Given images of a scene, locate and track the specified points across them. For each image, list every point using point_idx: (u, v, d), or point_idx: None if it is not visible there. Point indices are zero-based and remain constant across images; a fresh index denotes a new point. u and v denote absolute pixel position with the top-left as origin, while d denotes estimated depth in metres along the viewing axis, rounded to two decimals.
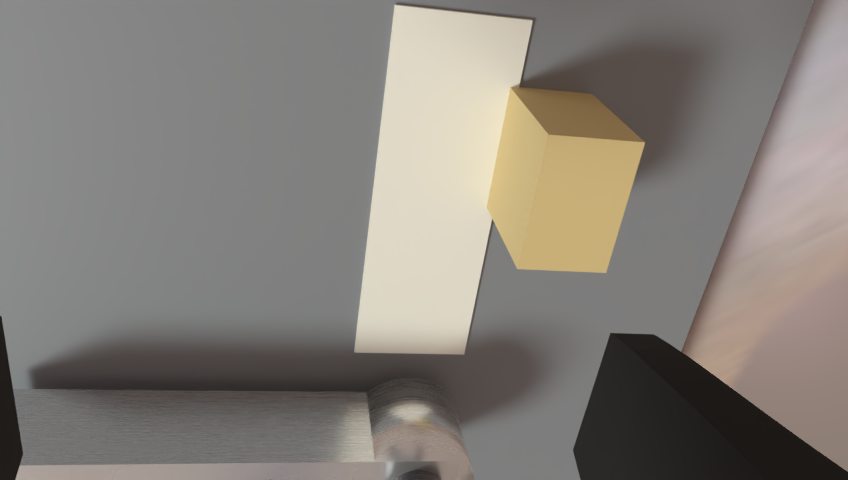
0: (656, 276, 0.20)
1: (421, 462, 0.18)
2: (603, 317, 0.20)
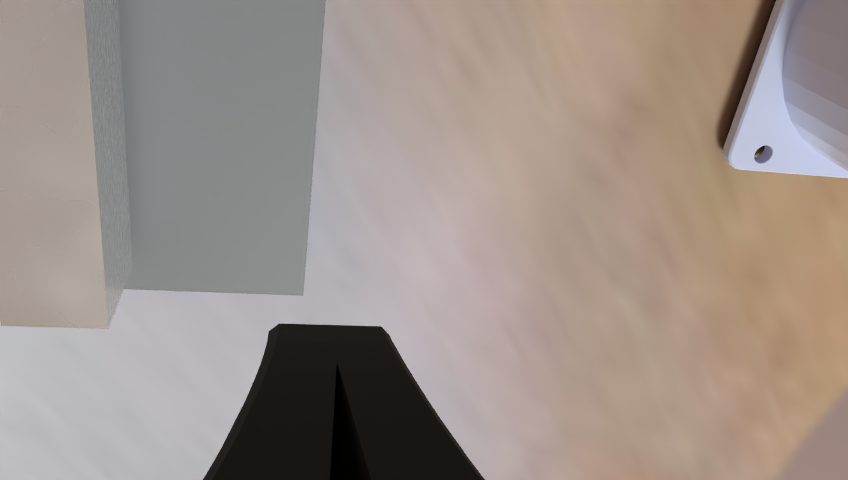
0: None
1: None
2: None
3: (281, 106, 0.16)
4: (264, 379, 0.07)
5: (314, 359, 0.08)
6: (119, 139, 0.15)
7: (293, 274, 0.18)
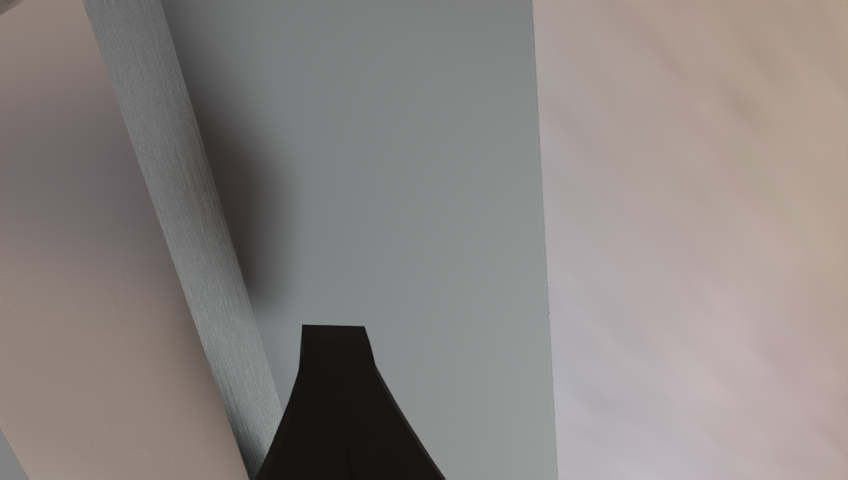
0: None
1: None
2: None
3: (490, 252, 0.10)
4: (306, 380, 0.07)
5: (352, 360, 0.08)
6: (265, 384, 0.09)
7: (541, 463, 0.12)
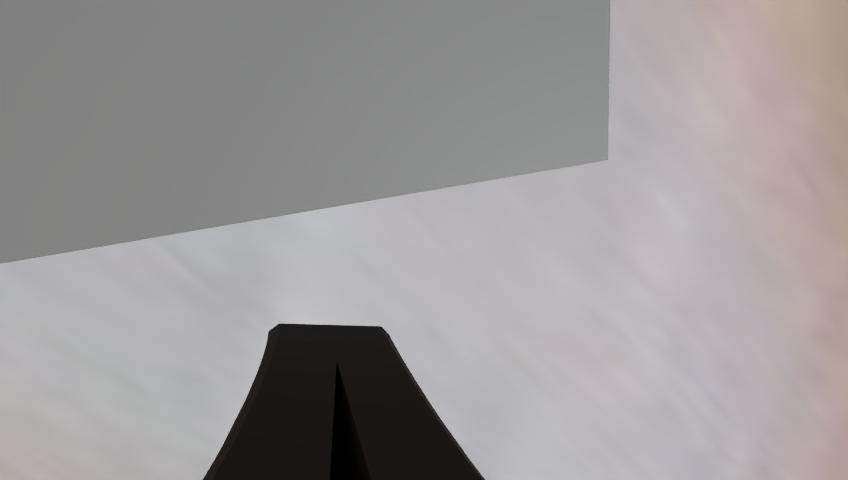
0: None
1: None
2: None
3: None
4: (264, 379, 0.07)
5: (314, 359, 0.08)
6: None
7: (597, 138, 0.18)
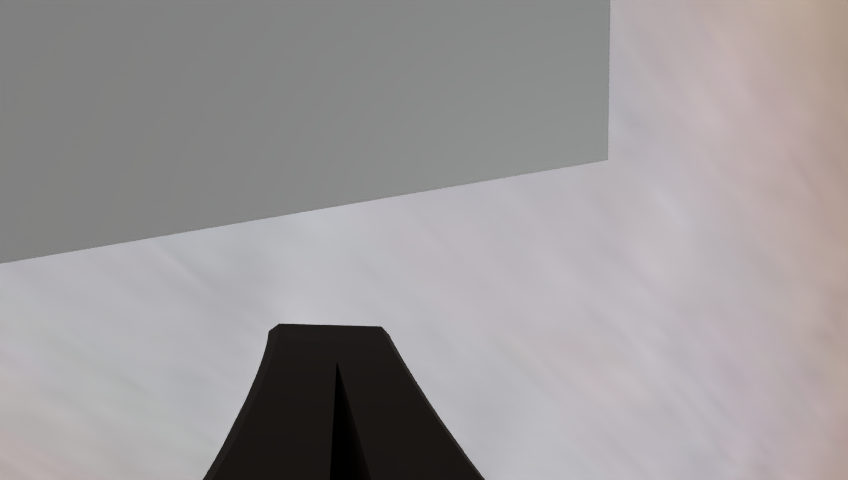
0: None
1: None
2: None
3: None
4: (264, 379, 0.07)
5: (314, 359, 0.08)
6: None
7: (597, 138, 0.18)
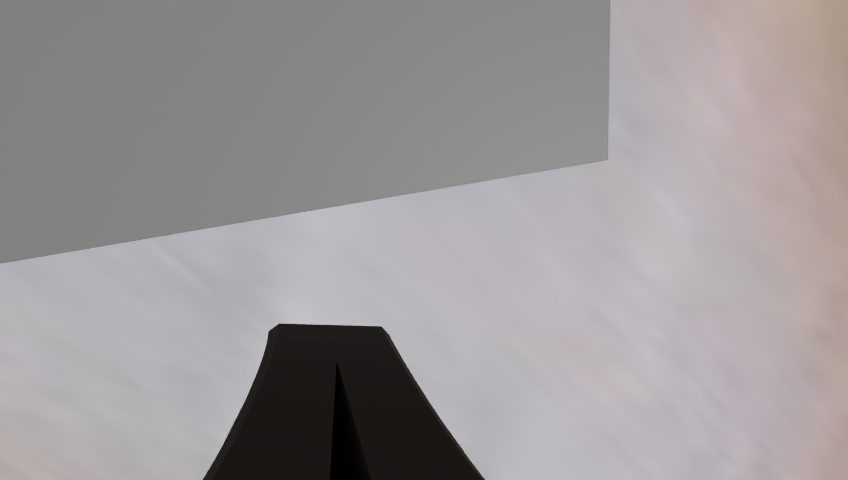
0: None
1: None
2: None
3: None
4: (264, 379, 0.07)
5: (314, 359, 0.08)
6: None
7: (597, 138, 0.18)
